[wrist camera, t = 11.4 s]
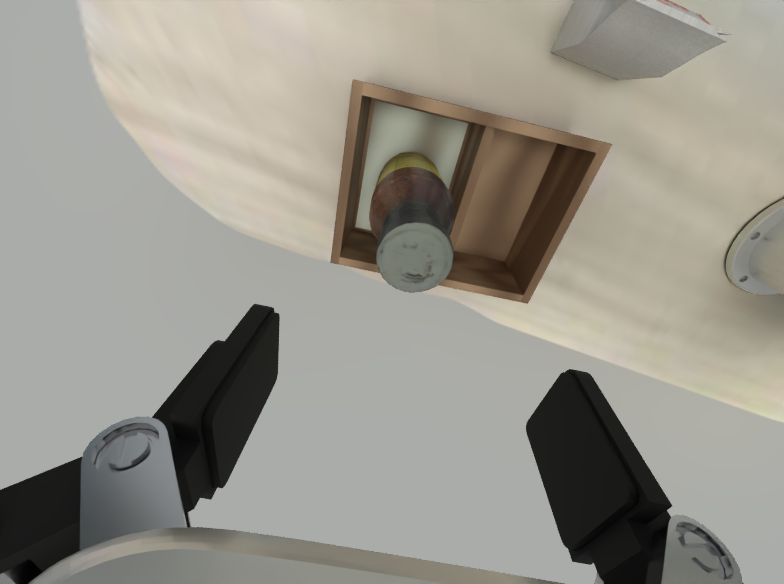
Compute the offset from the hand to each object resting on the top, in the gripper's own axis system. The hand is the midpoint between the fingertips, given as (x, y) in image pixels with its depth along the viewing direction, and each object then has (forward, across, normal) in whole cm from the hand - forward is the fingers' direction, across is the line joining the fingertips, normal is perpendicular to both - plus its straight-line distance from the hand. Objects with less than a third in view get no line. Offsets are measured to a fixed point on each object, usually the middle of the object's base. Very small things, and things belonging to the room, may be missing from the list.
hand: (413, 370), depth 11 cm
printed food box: (+28, -12, -14) cm, 34 cm away
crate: (+28, -3, 0) cm, 28 cm away
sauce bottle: (+27, +1, 0) cm, 27 cm away
